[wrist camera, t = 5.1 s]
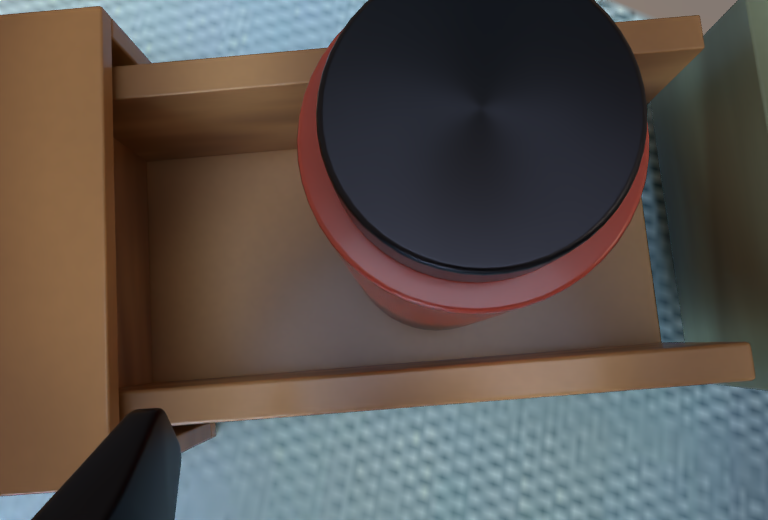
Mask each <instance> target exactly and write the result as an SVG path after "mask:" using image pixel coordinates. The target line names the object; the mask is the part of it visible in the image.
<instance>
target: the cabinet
mask: <svg viewBox="0 0 768 520" xmlns="http://www.w3.org/2000/svg"><path fill="white" fill-rule="evenodd" d="M150 63H151V62H150V61H149V60H148V58H147V57H146V56H145V55H144V54H143V53H142V52H141V51H140V49H139V48H138V47H137V46H136V45H135V44H134V43H133V42H132V40H131V39H130V38H129V37H128V36H127V35H126V34H125V33H124V31H123V30H122V29H121V28H120V27H119V26H118V25H117V24H116V22H115V21H114V20H113V19H111V17H110V16H109V15H108V13H107V12H106V11H105V10H104V9H103V8H102V7H100V6H96V7H84V8H73V9H62V10H51V11H40V12H29V13H18V14H7V15H0V496H12V495H25V494H39V493H52V492H57V491H58V490H59V489H60V488H61V486H62V485H63V484H64V483H65V482H66V481H67V480H68V479H69V478H70V477H71V475H72V474H73V473H74V472H75V471H76V470H77V469H78V468H79V467H80V466H81V464H82V463H83V462H84V461H85V460H86V459H87V458H88V457H89V456H90V455H91V453H92V452H93V451H94V450H95V449H96V448H97V447H98V446H99V445H100V444H101V442H102V441H103V440H104V439H105V438H106V437H107V436H108V435H109V434H110V432H111V431H112V430H113V429H114V428H115V427H116V426H117V425H118V424H119V383H118V335H117V287H116V239H115V191H114V143H113V95H112V67H116V66H127V65H138V64H150ZM172 428H173V430H174V432H175V434H176V437H177V439H178V441H179V444H180V448H181V453H182V452H184V451H186V450H188V449H190V448H192V447H194V446H196V445H199V444H201V443H203V442H205V441H207V440H209V439H211V438H213V437H215V436H216V423H204V424H191V425H178V426H172Z"/></svg>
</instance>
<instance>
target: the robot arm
mask: <svg viewBox="0 0 768 520" xmlns="http://www.w3.org/2000/svg"><path fill="white" fill-rule="evenodd" d="M180 467H181V448H180V444H179V441H178V439H177V437H176V434H175V432H174V430H173V428H172V425H171V423H170V421H169V419H168V416H167V414H166V413H165V411H164V410H163V409H161V408H147V409H136V410H133V411H131V412H130V413H128V414H127V415H126V416H125V417H124V418H123V419H122V420H121V421H120V423H119V424H118V425H117V426H116V427H115V428H114V429H113V430H112V431H111V432H110V434H109V435H108V436H107V437H106V438H105V439H104V440H103V441H102V442H101V444H100V445H99V446H98V447H97V448H96V449H95V450H94V451H93V452H92V453H91V455H90V456H89V457H88V458H87V459H86V460H85V461H84V462H83V463H82V464H81V466H80V467H79V468H78V469H77V470H76V471H75V472H74V473H73V474H72V475H71V477H70V478H69V479H68V480H67V481H66V482H65V483H64V484H63V485H62V486H61V488H60V489H59V490H58V491H57V492H56V493H55V494H54V495H53V496H52V497H51V499H50V500H49V501H48V502H47V503H46V504H45V505H44V506H43V507H42V508H41V510H40V511H39V512H38V513H37V514H36V515H35V516H34V517H33V518H32V519H31V520H174V519H175V510H176V502H177V493H178V484H179V475H180Z"/></svg>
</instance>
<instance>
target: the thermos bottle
mask: <svg viewBox="0 0 768 520" xmlns="http://www.w3.org/2000/svg"><path fill="white" fill-rule="evenodd" d="M297 156H298V166H299V171H300V176H301V182H302V186H303V189H304V192H305V195H306V198H307V201H308V204H309V206H310V208H311V210H312V212H313V214H314V216H315V219H316V221H317V223H318V225H319V226H320V228H321V229H322V231H323V232H324V234H325V235H326V237H327V238H328V240H329V241H330V243H331V244H332V246H333V247H334V249H335V250H336V252H337V253H338V254H339V256H340V257H341V259H342V260H343V262H344V263H345V264H346V266H347V267H348V269H349V270H350V272H351V273H352V274H353V276H354V277H355V279H356V280H357V282H358V283H359V284H360V286H361V287H362V289H363V290H364V292H365V293H366V295H367V296H368V297H369V298H370V300H371V301H372V302H373V303H374V304H375V305H376V306H377V307H378V308H379V309H380V310H381V311H382V312H384V313H385V314H386V315H388V316H389V317H391V318H392V319H394V320H396V321H398V322H400V323H402V324H405V325H408V326H411V327H413V328H418V329H423V330H434V331H439V330H450V329H455V328H459V327H463V326H466V325H469V324H472V323H475V322H479V321H482V320H485V319H488V318H491V317H495V316H498V315H501V314H504V313H507V312H510V311H514V310H517V309H520V308H523V307H526V306H529V305H532V304H535V303H538V302H541V301H543V300H546V299H548V298H550V297H552V296H554V295H556V294H558V293H560V292H562V291H564V290H566V289H567V288H569V287H570V286H572V285H573V284H575V283H576V282H578V281H579V280H581V279H582V278H584V277H585V276H586V275H587V274H588V273H590V272H591V271H592V270H593V269H594V268H595V267H596V266H597V265H598V264H599V263H601V262H602V261H603V260H604V258H605V257H606V256H607V255H608V254H609V253H610V251H611V250H612V249H613V248H614V247H615V245H616V244H617V243H618V242H619V240H620V238H621V237H622V235H623V234H624V232H625V230H626V229H627V227H628V226H629V224H630V222H631V220H632V218H633V215H634V213H635V211H636V209H637V207H638V204H639V202H640V198H641V195H642V192H643V188H644V185H645V181H646V175H647V168H648V162H649V131H648V123H647V103H646V95H645V88H644V84H643V80H642V76H641V73H640V69H639V66H638V63H637V61H636V59H635V56H634V54H633V52H632V49H631V47H630V45H629V44H628V42H627V40H626V39H625V37H624V35H623V34H622V32H621V30H620V29H619V28H618V26H617V25H616V24H615V22H614V21H613V20H612V19H611V17H610V16H609V15H608V14H607V13H606V12H605V11H604V10H603V9H602V8H601V7H600V6H599V5H598V4H597V3H596V2H595V1H594V0H368V1H367V2H366V3H365V4H364V5H363V6H362V7H361V8H360V9H359V10H358V12H357V13H356V14H355V15H354V16H353V17H352V18H351V19H350V21H349V22H348V23H347V25H346V26H345V27H344V29H343V30H342V31H341V32H340V33H339V34H338V35H337V36H336V37H335V38H334V39H333V41H332V42H331V44H330V45H329V47H328V48H327V49H326V51H325V52H324V54H323V55H322V56H321V58H320V60H319V62H318V64H317V66H316V68H315V69H314V71H313V73H312V75H311V77H310V80H309V83H308V85H307V88H306V91H305V94H304V96H303V101H302V105H301V109H300V114H299V119H298V131H297Z"/></svg>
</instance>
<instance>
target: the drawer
mask: <svg viewBox="0 0 768 520" xmlns="http://www.w3.org/2000/svg"><path fill="white" fill-rule="evenodd" d="M615 24H616V25H617V26H618V28H619V29H620V30H621V32H622V34H623V35H624V37H625V39H626V40H627V42H628V44H629V45H630V47H631V49H632V52H633V54H634V56H635V59H636V61H637V63H638V66H639V69H640V73H641V76H642V80H643V84H644V88H645V95H646V103H647V104H648V103H649V102H651V109H652V116H653V123H654V130H655V137H656V144H657V151H658V158H659V165H660V172H661V179H662V186H663V193H664V200H665V207H666V214H667V221H668V228H669V235H670V242H671V249H672V256H673V263H674V270H675V277H676V284H677V291H678V298H679V305H680V312H681V319H682V326H683V333H684V340H685V342H668V343H661V335H660V328H659V321H658V314H657V306H656V299H655V292H654V285H653V277H652V270H651V263H650V256H649V249H648V241H647V234H646V227H645V220H644V212H643V205H642V198H640V202H639V204H638V207H637V209H636V211H635V213H634V215H633V218H632V220H631V222H630V224H629V226H628V227H627V229H626V230H625V232H624V234H623V235H622V237H621V238H620V240H619V242H618V243H617V244H616V245H615V247H614V248H613V249H612V250H611V251H610V253H609V254H608V255H607V256H606V257H605V258H604V260H603V261H602V262H601V263H599V264H598V265H597V266H596V267H595V268H594V269H593V270H592V271H591V272H590V273H588V274H587V275H586V276H585V277H584V278H582V279H581V280H579V281H578V282H576V283H575V284H573V285H572V286H570V287H569V288H567V289H566V290H564V291H562V292H560V293H558V294H556V295H554V296H552V297H550V298H548V299H546V300H543V301H541V302H538V303H535V304H532V305H529V306H526V307H523V308H520V309H517V310H514V311H510V312H507V313H504V314H501V315H498V316H495V317H491V318H488V319H485V320H482V321H479V322H475V323H472V324H469V325H466V326H463V327H459V328H455V329H450V330H439V331H434V330H423V329H418V328H413V327H411V326H408V325H405V324H402V323H400V322H398V321H396V320H394V319H392V318H391V317H389V316H388V315H386V314H385V313H384V312H382V311H381V310H380V309H379V308H378V307H377V306H376V305H375V304H374V303H373V302H372V301H371V300H370V298H369V297H368V296H367V295H366V293H365V292H364V290H363V289H362V287H361V286H360V284H359V283H358V282H357V280H356V279H355V277H354V276H353V274H352V273H351V272H350V270H349V269H348V267H347V266H346V264H345V263H344V262H343V260H342V259H341V257H340V256H339V254H338V253H337V252H336V250H335V249H334V247H333V246H332V244H331V243H330V241H329V240H328V238H327V237H326V235H325V234H324V232H323V231H322V229H321V228H320V226H319V225H318V223H317V221H316V219H315V216H314V214H313V212H312V210H311V208H310V206H309V204H308V201H307V198H306V195H305V192H304V189H303V186H302V182H301V176H300V171H299V166H298V156H297V131H298V119H299V114H300V109H301V105H302V101H303V96H304V94H305V91H306V88H307V85H308V83H309V80H310V77H311V75H312V73H313V71H314V69H315V68H316V66H317V64H318V62H319V60H320V58H321V56H322V55H323V54H324V52H325V51H326V49H327V48H320V49H308V50H297V51H286V52H274V53H263V54H252V55H240V56H229V57H218V58H206V59H195V60H184V61H172V62H161V63H150V64H138V65H127V66H116V67H112V95H113V143H114V191H115V239H116V287H117V335H118V383H119V423H120V421H121V420H122V419H123V418H124V417H125V416H126V415H127V414H128V413H130V412H131V411H133V410H136V409H147V408H161V409H163V410H164V411H165V413H166V414H167V416H168V419H169V421H170V423H171V425H172V426H178V425H191V424H204V423H217V422H229V421H242V420H255V419H268V418H281V417H293V416H306V415H319V414H332V413H345V412H358V411H370V410H383V409H396V408H409V407H422V406H434V405H447V404H460V403H473V402H486V401H499V400H511V399H524V398H537V397H550V396H563V395H576V394H588V393H601V392H614V391H627V390H640V389H652V388H665V387H678V386H691V385H704V384H717V385H725V386H733V387H741V388H749V389H757V390H765V391H768V0H738V1H737V2H736V3H735V4H734V5H733V6H732V7H731V8H730V9H729V10H728V11H727V12H726V13H725V14H724V15H723V16H722V17H721V18H720V19H719V20H718V21H717V22H716V23H715V24H714V26H712V27H711V29H709V30H708V31H707V33H706V34H705V35H704V36H703V33H702V27H701V21H700V16H699V15H694V16H682V17H671V18H660V19H648V20H637V21H626V22H615Z"/></svg>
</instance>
